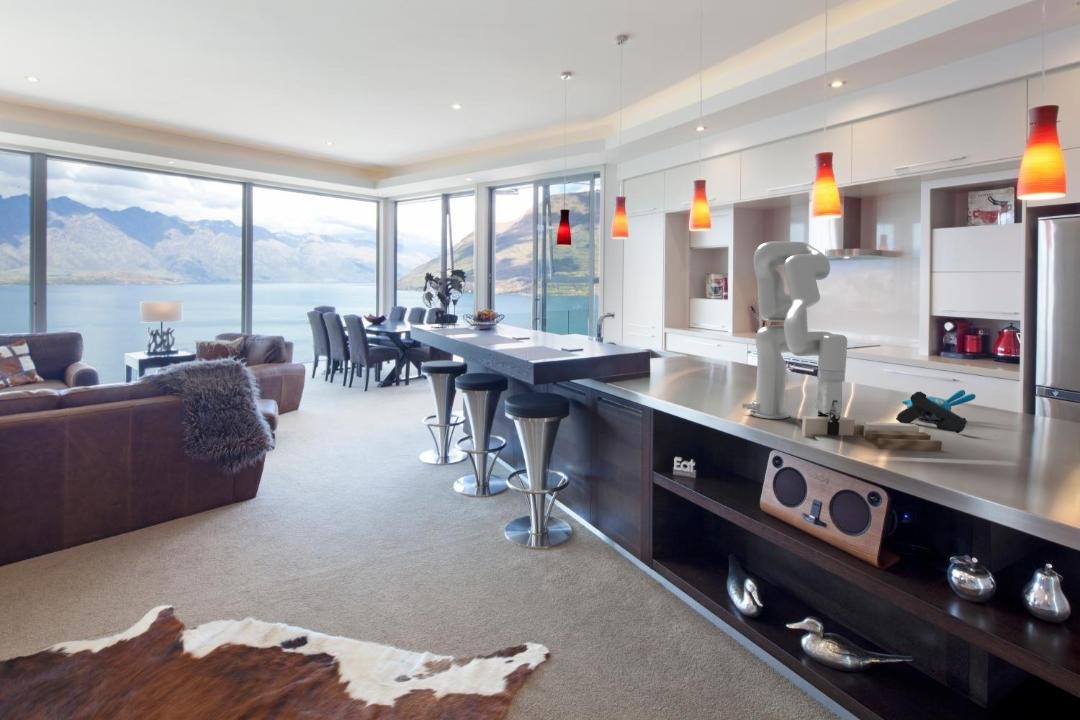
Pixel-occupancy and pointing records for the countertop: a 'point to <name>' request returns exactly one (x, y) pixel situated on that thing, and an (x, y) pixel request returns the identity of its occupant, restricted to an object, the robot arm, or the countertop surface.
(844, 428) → the clay bar
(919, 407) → the handgun
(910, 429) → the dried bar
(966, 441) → the countertop surface
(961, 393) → the toy
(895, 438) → the rack
